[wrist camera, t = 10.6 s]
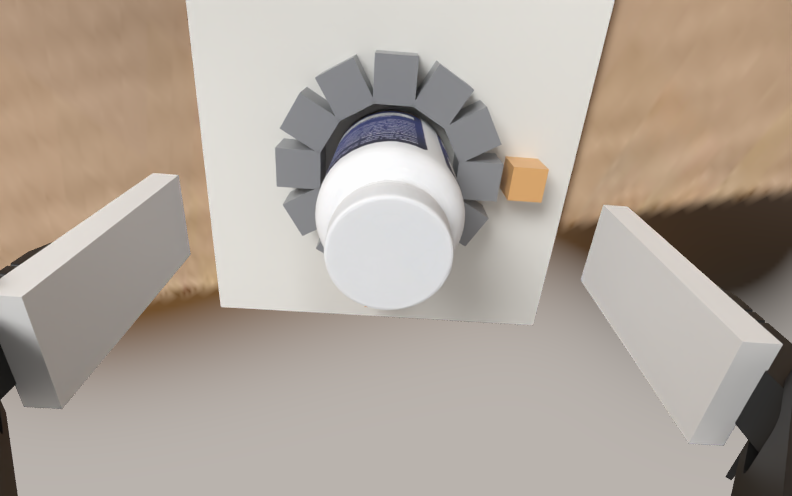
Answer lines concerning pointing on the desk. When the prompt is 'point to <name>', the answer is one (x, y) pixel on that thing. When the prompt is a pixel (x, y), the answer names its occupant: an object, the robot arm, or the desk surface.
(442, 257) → the pill bottle
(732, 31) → the desk surface
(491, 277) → the socket
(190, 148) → the desk surface
